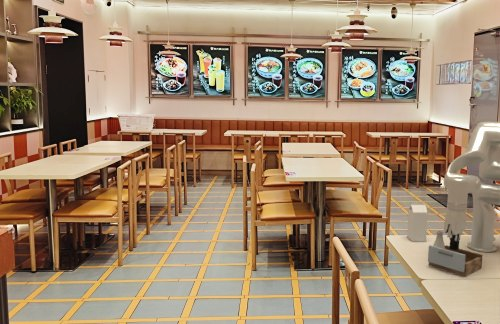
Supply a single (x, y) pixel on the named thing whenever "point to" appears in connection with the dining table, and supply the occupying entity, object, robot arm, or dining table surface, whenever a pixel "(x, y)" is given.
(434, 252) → the grey flat panel
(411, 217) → the milk carton
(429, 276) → the dining table surface
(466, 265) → the wooden tray
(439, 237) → the flask
